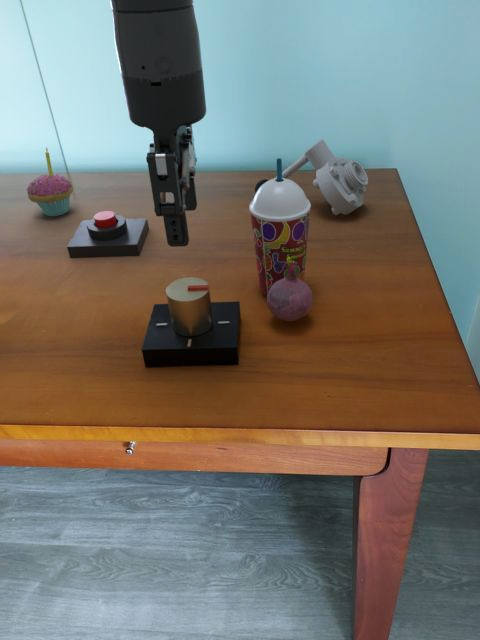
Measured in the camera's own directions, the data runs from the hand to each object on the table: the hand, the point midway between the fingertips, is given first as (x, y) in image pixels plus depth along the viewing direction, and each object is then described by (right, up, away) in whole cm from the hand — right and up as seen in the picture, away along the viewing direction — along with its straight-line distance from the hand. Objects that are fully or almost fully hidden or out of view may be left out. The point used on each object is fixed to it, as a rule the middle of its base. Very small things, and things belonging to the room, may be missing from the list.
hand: (183, 226), depth 59 cm
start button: (-18, +8, +33) cm, 39 cm away
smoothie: (+12, -5, +22) cm, 25 cm away
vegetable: (+13, -10, +15) cm, 22 cm away
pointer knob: (0, -10, +11) cm, 15 cm away
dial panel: (0, -13, +13) cm, 18 cm away
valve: (+18, +14, +44) cm, 49 cm away
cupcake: (-32, +14, +46) cm, 58 cm away
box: (-18, +5, +35) cm, 40 cm away
